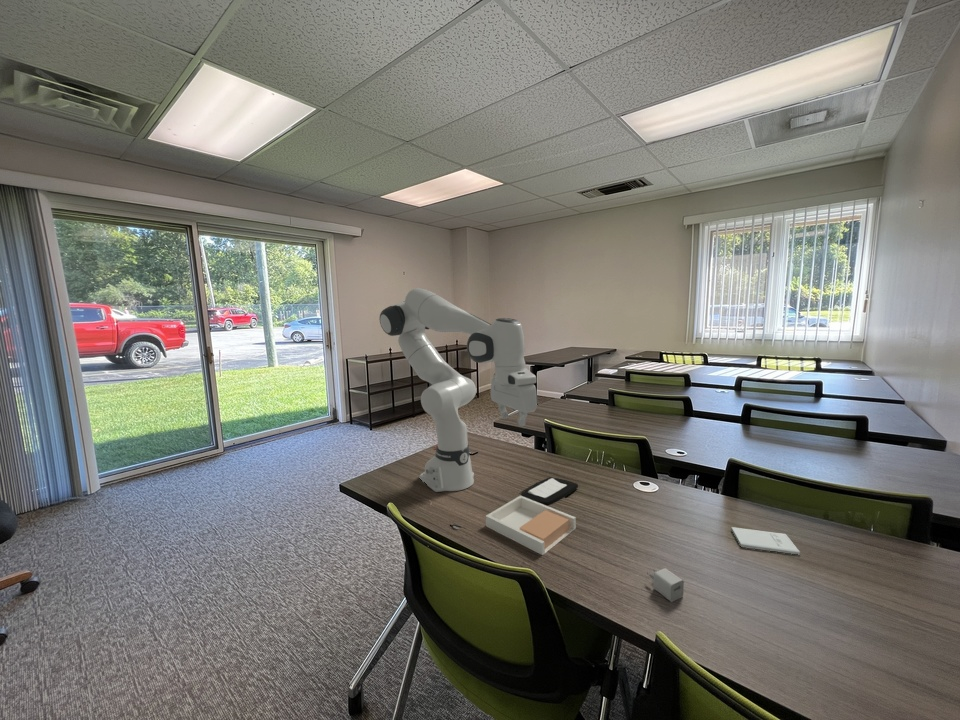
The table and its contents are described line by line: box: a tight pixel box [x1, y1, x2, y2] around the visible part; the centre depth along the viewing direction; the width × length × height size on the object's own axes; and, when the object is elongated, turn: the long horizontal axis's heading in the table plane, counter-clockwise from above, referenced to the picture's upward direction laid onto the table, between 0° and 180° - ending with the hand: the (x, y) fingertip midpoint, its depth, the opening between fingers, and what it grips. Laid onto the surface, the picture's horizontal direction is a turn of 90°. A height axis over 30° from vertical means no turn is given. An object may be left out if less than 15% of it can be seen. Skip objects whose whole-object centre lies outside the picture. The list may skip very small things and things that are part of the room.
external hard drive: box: [730, 526, 801, 556], centre depth 98 cm, size 2×8×12 cm
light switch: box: [518, 477, 579, 507], centre depth 130 cm, size 20×3×14 cm
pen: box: [449, 523, 467, 530], centre depth 107 cm, size 1×19×1 cm, turn 56°
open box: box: [485, 494, 577, 556], centre depth 108 cm, size 20×16×4 cm
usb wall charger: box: [646, 567, 685, 603], centre depth 83 cm, size 4×7×4 cm, turn 24°
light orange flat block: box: [520, 510, 569, 549], centre depth 104 cm, size 8×12×3 cm, turn 135°
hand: (512, 421), depth 109 cm, fingers open, 8 cm apart
